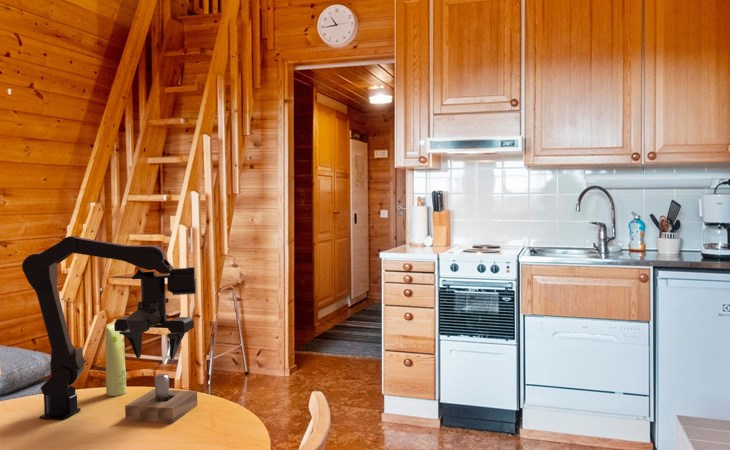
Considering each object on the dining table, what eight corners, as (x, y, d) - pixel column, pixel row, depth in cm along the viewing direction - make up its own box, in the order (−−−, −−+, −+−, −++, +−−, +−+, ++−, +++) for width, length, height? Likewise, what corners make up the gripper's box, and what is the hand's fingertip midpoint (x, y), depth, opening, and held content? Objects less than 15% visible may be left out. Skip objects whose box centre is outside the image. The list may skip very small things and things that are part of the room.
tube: (128, 394, 152) (126, 321, 151) (108, 398, 149) (105, 324, 149) (124, 389, 157) (122, 318, 156) (104, 392, 154) (102, 320, 153)
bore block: (125, 420, 134) (125, 405, 134) (153, 402, 146) (153, 389, 146) (172, 423, 132) (172, 408, 132) (197, 405, 143) (197, 391, 143)
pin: (153, 410, 137) (152, 377, 137) (160, 405, 140) (159, 373, 140) (165, 411, 137) (164, 378, 136) (172, 406, 140) (171, 374, 140)
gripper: (98, 301, 136) (101, 366, 137) (171, 302, 133) (173, 369, 133) (126, 293, 147) (128, 353, 148) (194, 294, 144) (195, 356, 144)
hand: (155, 358), depth 143 cm, fingers open, 9 cm apart
